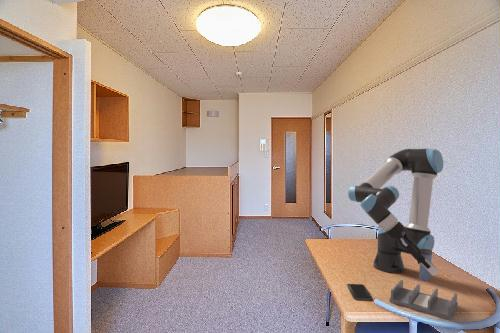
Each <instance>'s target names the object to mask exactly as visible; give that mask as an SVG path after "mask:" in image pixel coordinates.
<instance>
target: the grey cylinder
mask: <svg viewBox="0 0 500 333" xmlns="http://www.w3.org/2000/svg"><path fill="white" fill-rule="evenodd" d="M420 254H421V255H422V256H423V257H424V258H425V259H427V260H428V261H429V262H430V263H431V262H432V258H433V257H432V255H433V249H432V250H429V249H420ZM431 276H432V275H431V274H430V273H429V272H428V271H427V270H426V269H425V267H424V266H423V265H422V264H421V263H420V264H419V274H418V279H419V280H420V281H423V282H430V281H431Z"/></svg>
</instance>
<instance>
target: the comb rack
mask: <svg viewBox="0 0 500 333" xmlns="http://www.w3.org/2000/svg"><path fill="white" fill-rule="evenodd" d="M438 294H439V289H438V288H435V289H434V290H433V292H432V294H428V293H424V292H421V284H420V283H417V284H416V286H415V287H414V288H413V290H412V289H409V288H405V287H404V280H403V279H400V281H398V282H397V284H395V286H393V287H392V288H391V290H390V297H389V302H390V303H392V304H396V305H399V306H402V307H405V308H409V309H412V310H415V311H418V312H422V313H425V314H429V315H432V316H436V317H439V318H442V319H445V320H449V321H453V319H454V316H455V314H456V311H457V308H458V307H459V302H458V293H457V292H455V293H454V294H453V296H452V298H451V300H450V299H447V298H443V297H439V296H438Z"/></svg>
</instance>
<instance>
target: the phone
mask: <svg viewBox="0 0 500 333" xmlns="http://www.w3.org/2000/svg"><path fill="white" fill-rule="evenodd" d="M346 286H347V288H348V291H349V293H350V295H351V296H352V298H353V300H355V301H367V302H372V301H374V300H373V299H374V297H373V296H372V295H371V293H370V292H369V290H368V289H367V287H366V286H365V285H364V284H359V283H347V284H346Z"/></svg>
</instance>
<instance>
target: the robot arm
mask: <svg viewBox="0 0 500 333" xmlns="http://www.w3.org/2000/svg"><path fill="white" fill-rule="evenodd" d="M443 169H444V158H443V155H442V153H441V152H440V150H439V149H436V148H406V149H402V150H399V151H397V152H395V153H393V154H391V155H390V156H388V157H387V158H386V159H385V160H384V164H382V165H381V166H380V167H379V168H378V169H377V170H376V171H374V172H373V173H372V174H371V175H370V176H369V177H368V178H366V179H365V180H364V181H363V182H362V183H360V185H352V186H350V187H349V189H348V191H347V195H348V198H349V200H350V201H351V202H357V203H359V206H360V207H361V208H362V210H363V211H364V213H366V214H367V216H369V217H370V218H371V219H372V220H373V221H374V222H375V223H376V225H377V227H378V230H377V249H376V250H377V251H376V255H375V257H374V259H373V267H374V268H375V269H376V270H379V271H382V272H385V273H394V274H395V273H397V274H398V273H402V272H404V271H405V264H404V261H403V257H402V253H404V254H408V255H411V256H412V257H413V258H414V260H415V261H416V262H417V264H418V265H420V263H421V264H422V265H423V266H424V267H425V269H426V270H427V271H428V272H429V273H430V274H431V275H430V276H432V277H434V276H436V275H437V274H439V271H438V267H437V266H436V265H435V264H434V262H432V261H431V263H430V262H429V261H428V260H427V259H425V258H424V257H423V256H422V255H421V254H420V249H429V250H432V251H433V249H434V246H435V237H434V235H432V234H431V230H430V228H429V226H428V225H429V220H430V219H429V218H430V208H431V201H432V191H433V184H434V180H435V179H436V178H437V177H438V174H439V173H442V172H443ZM406 171H409V172H411V175H412V177H413V182H412V183H413V184H412V191H411V192H412V193H411V201H410V209H409V217H408V223H407V224H406V225H404V224H403V223H402V222H401V221H399V220H398V218H397V217H396V216H395V215H394V213H392V212H391V211H390V210H389V208H390V207H391V206H393V205H394V204H395V203H396V202H397V200H398V199H399V198H400V192H399V190H398V189H397V187H395V186H393V185H385V184H387V183H388V182H389V181H390V180H391V179H392V178H393V177H394V176H395V175H397V174H400V173H401V172H406ZM383 186H384V187H383Z"/></svg>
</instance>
